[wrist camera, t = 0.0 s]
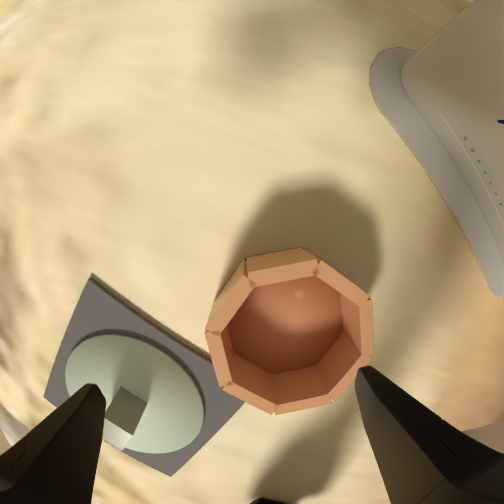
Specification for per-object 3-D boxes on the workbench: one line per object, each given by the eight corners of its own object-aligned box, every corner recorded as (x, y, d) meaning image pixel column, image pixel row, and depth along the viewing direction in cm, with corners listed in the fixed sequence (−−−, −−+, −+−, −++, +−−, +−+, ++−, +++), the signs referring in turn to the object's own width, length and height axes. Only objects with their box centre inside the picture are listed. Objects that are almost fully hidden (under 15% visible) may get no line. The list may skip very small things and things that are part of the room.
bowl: (296, 393, 26) (306, 429, 20) (191, 333, 25) (179, 365, 19) (373, 298, 25) (401, 320, 19) (268, 223, 23) (276, 227, 18)
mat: (171, 473, 28) (170, 476, 27) (45, 394, 26) (43, 396, 25) (256, 386, 26) (256, 389, 25) (90, 278, 24) (88, 279, 23)
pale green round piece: (165, 466, 27) (155, 500, 21) (55, 397, 25) (32, 424, 20) (234, 392, 25) (232, 431, 20) (94, 302, 24) (62, 324, 18)
